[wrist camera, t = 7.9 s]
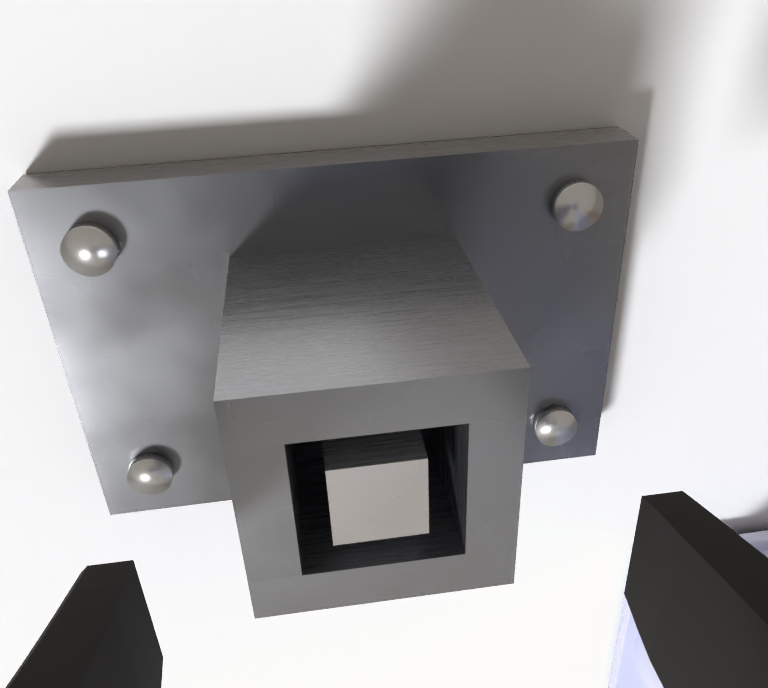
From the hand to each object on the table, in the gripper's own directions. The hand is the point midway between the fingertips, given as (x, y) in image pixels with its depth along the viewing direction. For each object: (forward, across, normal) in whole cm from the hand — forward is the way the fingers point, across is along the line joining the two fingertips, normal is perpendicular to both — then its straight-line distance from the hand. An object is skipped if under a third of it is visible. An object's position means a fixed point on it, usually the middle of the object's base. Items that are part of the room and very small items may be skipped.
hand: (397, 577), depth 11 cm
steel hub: (+6, 0, 0) cm, 7 cm away
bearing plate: (+8, 0, 0) cm, 8 cm away
